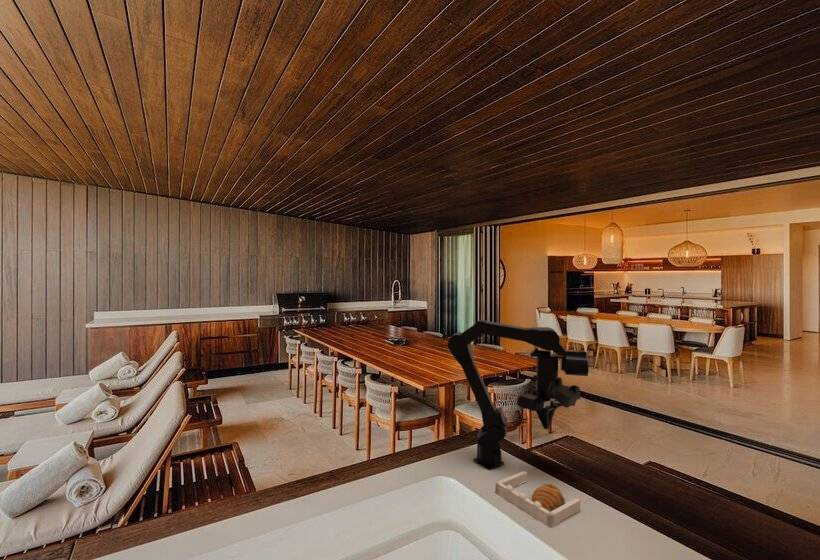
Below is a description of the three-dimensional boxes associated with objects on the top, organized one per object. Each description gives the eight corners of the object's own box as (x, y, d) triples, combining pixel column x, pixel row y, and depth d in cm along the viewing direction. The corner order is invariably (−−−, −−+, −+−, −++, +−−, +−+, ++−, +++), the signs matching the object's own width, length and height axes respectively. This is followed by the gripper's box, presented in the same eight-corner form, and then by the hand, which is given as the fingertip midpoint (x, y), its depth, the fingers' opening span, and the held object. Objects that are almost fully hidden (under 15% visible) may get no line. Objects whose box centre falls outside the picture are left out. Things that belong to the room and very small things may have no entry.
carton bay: (494, 492, 94) (494, 479, 94) (524, 480, 101) (524, 467, 101) (550, 528, 81) (550, 512, 81) (580, 510, 88) (580, 496, 88)
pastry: (553, 522, 84) (553, 504, 84) (523, 510, 88) (523, 493, 88) (566, 503, 91) (566, 487, 91) (538, 493, 95) (538, 478, 95)
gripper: (551, 384, 94) (550, 446, 94) (593, 375, 105) (592, 431, 105) (516, 374, 103) (515, 431, 103) (557, 367, 114) (556, 419, 114)
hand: (546, 428), depth 106 cm, fingers closed
